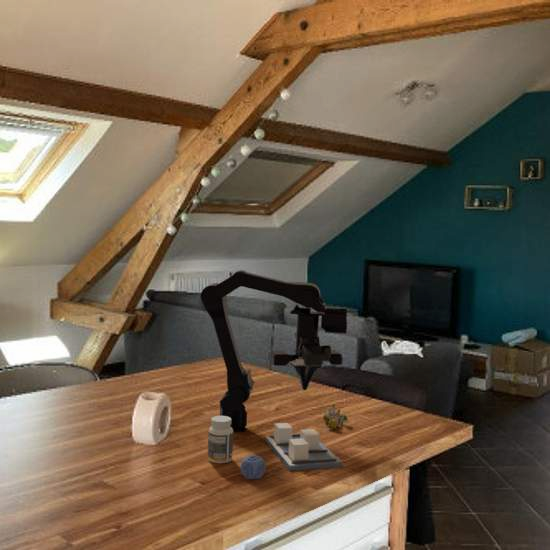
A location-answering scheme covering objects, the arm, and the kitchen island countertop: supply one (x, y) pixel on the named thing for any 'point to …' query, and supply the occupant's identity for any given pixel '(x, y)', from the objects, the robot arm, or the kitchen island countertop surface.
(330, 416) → the toy
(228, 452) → the pill bottle
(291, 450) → the white cube
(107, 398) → the kitchen island countertop surface
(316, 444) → the white cube
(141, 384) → the kitchen island countertop surface
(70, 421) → the kitchen island countertop surface
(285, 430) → the white cube
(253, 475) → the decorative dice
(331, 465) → the dip bank
